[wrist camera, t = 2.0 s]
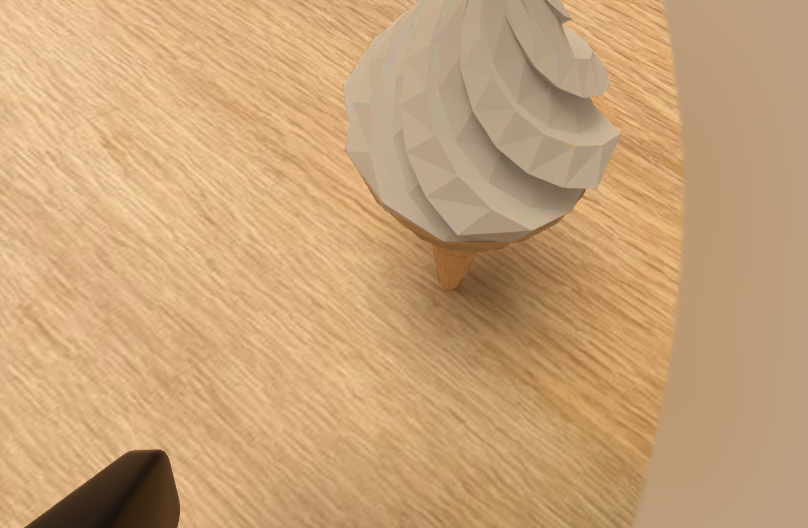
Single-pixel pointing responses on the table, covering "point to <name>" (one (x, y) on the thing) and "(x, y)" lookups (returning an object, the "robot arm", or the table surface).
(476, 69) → the ice cream cone
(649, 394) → the table surface
